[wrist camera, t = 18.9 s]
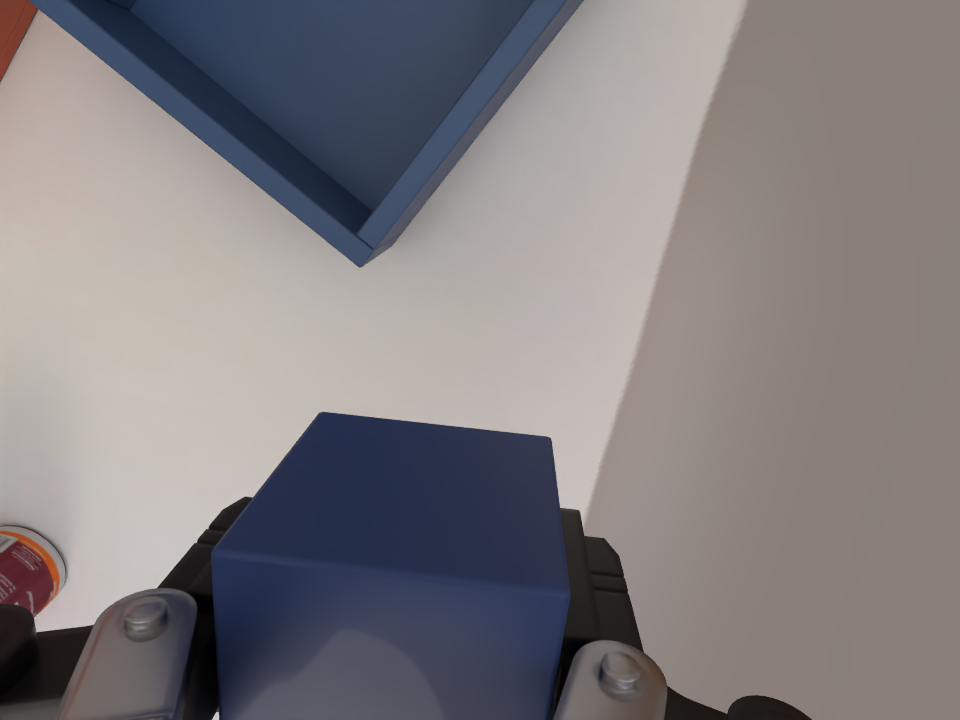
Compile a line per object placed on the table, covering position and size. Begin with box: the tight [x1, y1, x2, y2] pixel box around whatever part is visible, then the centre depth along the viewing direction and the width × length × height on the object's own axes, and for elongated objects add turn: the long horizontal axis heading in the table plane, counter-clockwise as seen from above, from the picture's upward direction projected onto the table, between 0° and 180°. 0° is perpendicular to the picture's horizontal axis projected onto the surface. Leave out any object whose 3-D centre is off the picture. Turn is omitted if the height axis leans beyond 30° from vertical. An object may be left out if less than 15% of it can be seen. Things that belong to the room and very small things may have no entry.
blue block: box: [211, 412, 571, 720], centre depth 11 cm, size 5×5×5 cm
